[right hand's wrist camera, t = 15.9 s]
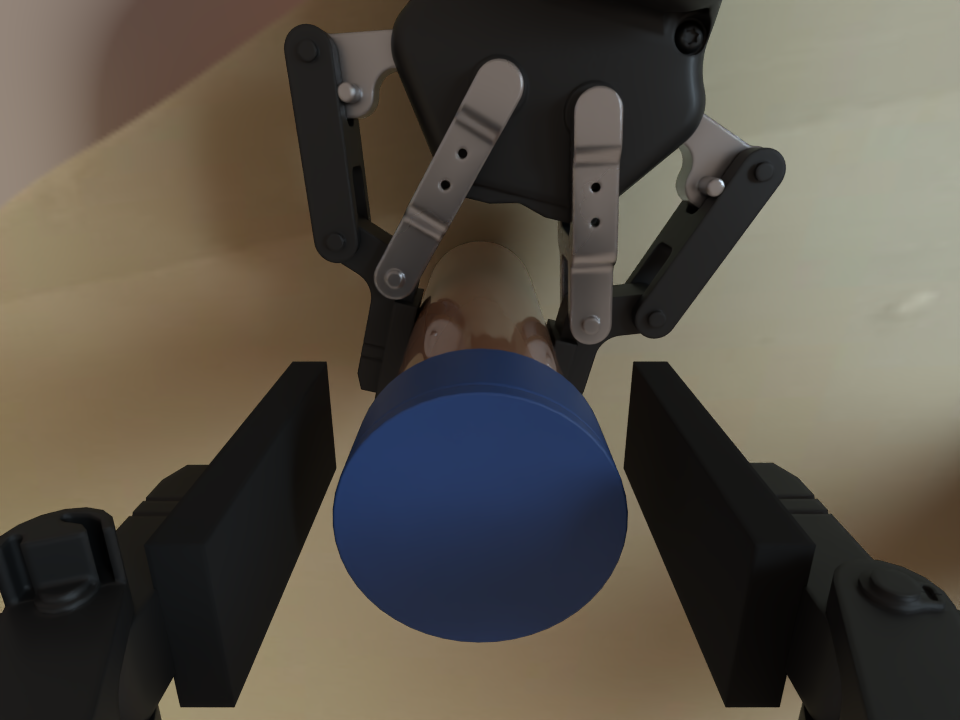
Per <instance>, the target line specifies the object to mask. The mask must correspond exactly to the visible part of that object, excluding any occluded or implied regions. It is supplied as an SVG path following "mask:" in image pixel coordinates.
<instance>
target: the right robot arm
mask: <svg viewBox="0 0 960 720" xmlns="http://www.w3.org/2000/svg"><path fill="white" fill-rule="evenodd" d="M335 470H336V458H335V448H334V437H333V426H332V415H331V404H330V393H329V382H328V371H327V362H292V363H291V365H290V366H289V367H288V368H287V369H286V371H285V372H284V373H283V374H282V376H281V377H280V378H279V379H278V381H277V382H276V383H275V384H274V385H273V387H272V388H271V389H270V390H269V392H268V393H267V394H266V395H265V397H264V398H263V399H262V400H261V401H260V403H259V404H258V405H257V406H256V408H255V409H254V410H253V411H252V413H251V414H250V415H249V416H248V417H247V419H246V420H245V421H244V422H243V424H242V425H241V426H240V427H239V429H238V430H237V431H236V432H235V433H234V435H233V436H232V437H231V438H230V440H229V441H228V442H227V443H226V445H225V446H224V447H223V448H222V449H221V451H220V452H219V453H218V454H217V456H216V457H215V458H214V459H213V461H212V462H211V463H210V464H209V465H186V466H185V467H183V468H181V469H180V470H178V471H176V472H175V473H173V474H171V475H170V476H168V477H166V478H165V479H163V480H162V481H161V482H160V483H159V484H158V485H157V486H156V487H155V488H154V490H153V491H152V492H151V493H150V494H149V495H148V496H147V497H146V501H143V502H142V503H141V504H140V505H139V506H138V507H137V508H136V509H135V510H134V511H133V515H132V516H129V517H128V518H127V519H126V520H125V521H124V522H123V524H122V525H121V526H120V527H119V528H118V529H117V530H116V529H115V525H114V521H113V517H112V516H111V515H109V514H108V513H106V512H105V511H104V510H100V509H94V508H88V507H85V508H72V509H64V510H60V511H56V512H52V513H48V514H44V515H41V516H38V517H36V518H33V519H31V520H29V521H26V522H24V523H21V524H19V525H17V526H16V527H14V528H12V529H11V530H9V531H8V532H6V533H5V534H3V535H1V536H0V592H1V595H2V598H3V601H4V604H5V608H4V610H3V612H2V613H0V720H161V715H160V711H159V707H158V703H159V702H160V700H161V698H162V696H163V695H164V693H165V691H166V689H167V687H168V686H169V684H170V682H171V680H172V678H173V677H174V681H175V685H176V690H177V694H178V699H179V703H180V707H235V705H236V702H237V700H238V698H239V695H240V693H241V691H242V688H243V686H244V684H245V681H246V679H247V677H248V674H249V672H250V670H251V667H252V665H253V663H254V660H255V658H256V655H257V653H258V651H259V648H260V646H261V644H262V641H263V639H264V637H265V634H266V632H267V630H268V627H269V625H270V623H271V620H272V618H273V616H274V613H275V611H276V609H277V606H278V604H279V602H280V599H281V597H282V595H283V592H284V590H285V587H286V585H287V583H288V580H289V578H290V576H291V573H292V571H293V569H294V566H295V564H296V562H297V559H298V557H299V555H300V552H301V550H302V548H303V545H304V543H305V541H306V538H307V536H308V534H309V531H310V529H311V527H312V524H313V522H314V520H315V517H316V515H317V512H318V510H319V508H320V505H321V503H322V501H323V498H324V496H325V494H326V491H327V489H328V487H329V484H330V482H331V480H332V477H333V475H334V473H335ZM624 470H625V473H626V475H627V477H628V480H629V482H630V484H631V487H632V489H633V491H634V494H635V496H636V498H637V501H638V503H639V505H640V508H641V510H642V512H643V515H644V517H645V520H646V522H647V524H648V527H649V529H650V531H651V534H652V536H653V538H654V541H655V543H656V545H657V548H658V550H659V552H660V555H661V557H662V559H663V562H664V564H665V566H666V569H667V571H668V573H669V576H670V578H671V580H672V583H673V585H674V588H675V590H676V592H677V595H678V597H679V599H680V602H681V604H682V606H683V609H684V611H685V613H686V616H687V618H688V620H689V623H690V625H691V627H692V630H693V632H694V634H695V637H696V639H697V641H698V644H699V646H700V648H701V651H702V653H703V655H704V658H705V660H706V663H707V665H708V667H709V670H710V672H711V674H712V677H713V679H714V681H715V684H716V686H717V688H718V691H719V693H720V695H721V698H722V700H723V702H724V705H725V707H780V703H781V699H782V694H783V690H784V685H785V681H786V677H787V675H788V677H789V679H790V681H791V682H792V684H793V686H794V688H795V689H796V691H797V693H798V695H799V697H800V698H801V700H802V702H803V703H802V707H801V711H800V715H799V719H798V720H960V610H957V609H956V607H955V605H954V604H953V603H952V601H951V600H950V599H949V597H948V596H947V595H946V594H945V592H944V591H943V590H941V589H940V588H939V587H937V586H936V585H935V584H933V583H932V582H931V581H929V580H928V579H926V578H925V577H923V576H921V575H919V574H917V573H915V572H913V571H910V570H908V569H906V568H904V567H901V566H898V565H894V564H891V563H888V562H884V561H880V560H873V559H872V558H871V557H870V556H869V554H868V553H867V552H866V551H865V550H864V549H863V548H862V547H861V546H860V545H859V544H858V542H857V541H856V540H855V539H854V538H853V537H852V536H851V535H850V534H849V533H848V532H847V530H846V529H845V528H844V527H843V526H842V525H841V524H840V523H839V522H838V521H837V520H836V519H835V517H834V516H833V515H832V514H828V510H827V509H826V508H825V507H824V505H823V504H822V503H821V502H820V501H819V500H818V499H815V498H814V495H813V493H812V492H811V491H810V490H809V489H808V488H807V487H806V486H805V485H804V484H803V483H802V481H801V480H800V479H799V478H798V477H796V476H794V475H792V474H791V473H789V472H787V471H786V470H784V469H782V468H781V467H779V466H777V465H776V464H774V463H749V462H748V461H747V459H746V458H745V457H744V456H743V454H742V453H741V452H740V451H739V449H738V448H737V447H736V446H735V445H734V443H733V442H732V441H731V440H730V438H729V437H728V436H727V435H726V433H725V432H724V431H723V430H722V429H721V427H720V426H719V425H718V424H717V422H716V421H715V420H714V419H713V417H712V416H711V415H710V414H709V413H708V411H707V410H706V409H705V408H704V406H703V405H702V404H701V403H700V401H699V400H698V399H697V398H696V397H695V395H694V394H693V393H692V392H691V390H690V389H689V388H688V387H687V385H686V384H685V383H684V382H683V381H682V379H681V378H680V377H679V376H678V374H677V373H676V372H675V371H674V369H673V368H672V367H671V366H670V365H669V363H668V362H633V371H632V382H631V393H630V404H629V415H628V426H627V437H626V448H625V458H624Z"/></svg>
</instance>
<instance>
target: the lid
mask: <svg viewBox="0 0 960 720" xmlns="http://www.w3.org/2000/svg"><path fill="white" fill-rule="evenodd" d="M627 521H628V510H627V501H626V495H625V491H624V487H623V484H622V480H621V478H620V475H619V473H618V470H617V468H616V465H615V463H614V460H613V458H612V455H611V453H610V450H609V448H608V446H607V443H606V441H605V438H604V436H603V433H602V431H601V428H600V426H599V423H598V421H597V419H596V417H595V415H594V412H593V410H592V409H591V407H590V406H589V404H588V403H587V401H586V400H585V398H584V397H583V396H582V394H581V393H580V392H579V391H578V390H577V389H576V388H575V386H574V385H572V384H571V383H570V382H569V381H568V380H567V379H566V378H564V377H563V376H562V375H561V374H559V373H558V372H556V371H555V370H553V369H552V368H550V367H549V366H547V365H545V364H543V363H541V362H539V361H537V360H534V359H532V358H529V357H526V356H523V355H520V354H517V353H513V352H508V351H503V350H496V349H482V348H481V349H464V350H458V351H452V352H447V353H444V354H440V355H437V356H434V357H431V358H428V359H426V360H424V361H422V362H420V363H417V364H415V365H414V366H412V367H410V368H409V369H407V370H406V371H404V372H402V373H401V374H400V375H398V376H397V377H396V378H395V379H394V380H392V381H391V382H390V383H389V384H388V385H387V386H386V387H385V388H384V389H383V390H382V391H381V393H380V394H379V395H378V396H377V397H376V399H375V400H374V402H373V403H372V405H371V406H370V408H369V409H368V411H367V414H366V416H365V418H364V420H363V422H362V424H361V427H360V429H359V432H358V434H357V437H356V439H355V441H354V444H353V446H352V449H351V451H350V454H349V456H348V459H347V461H346V464H345V466H344V469H343V471H342V474H341V476H340V479H339V482H338V485H337V489H336V492H335V498H334V504H333V529H334V535H335V542H336V545H337V548H338V551H339V554H340V557H341V560H342V562H343V564H344V566H345V568H346V570H347V572H348V574H349V575H350V576H351V578H352V579H353V581H354V582H355V584H356V585H357V587H358V588H359V589H360V590H361V591H362V592H363V593H364V595H365V596H366V597H367V598H368V599H369V600H370V601H371V602H372V603H374V604H375V605H376V606H377V607H378V608H379V609H380V610H382V611H383V612H385V613H386V614H388V615H389V616H391V617H392V618H394V619H395V620H397V621H399V622H401V623H403V624H405V625H406V626H408V627H410V628H413V629H415V630H418V631H420V632H423V633H425V634H429V635H432V636H436V637H440V638H443V639H449V640H455V641H463V642H498V641H505V640H512V639H517V638H521V637H524V636H528V635H532V634H535V633H537V632H540V631H543V630H545V629H548V628H550V627H552V626H554V625H556V624H558V623H560V622H562V621H564V620H565V619H567V618H568V617H570V616H571V615H573V614H574V613H576V612H577V611H579V610H580V609H581V608H582V607H583V606H585V605H586V604H587V603H588V602H589V601H590V600H591V599H592V598H593V597H594V596H595V595H596V594H597V593H598V592H599V591H600V590H601V589H602V587H603V586H604V584H605V583H606V582H607V580H608V579H609V577H610V576H611V574H612V572H613V570H614V568H615V567H616V565H617V563H618V561H619V558H620V555H621V552H622V549H623V547H624V543H625V538H626V532H627Z"/></svg>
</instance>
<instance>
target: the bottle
mask: <svg viewBox="0 0 960 720" xmlns="http://www.w3.org/2000/svg"><path fill="white" fill-rule="evenodd" d="M481 348H482V349H496V350H503V351H508V352H513V353H517V354H520V355H523V356H526V357H529V358H532V359H534V360H537V361H539V362H541V363H543V364H545V365H547V366H549V367H550V368H552V369H553V370H555V371H556V372H558V373H559V374H561V375H562V376H563V377H564V375H563V373H562V370H561V367H560V364H559V361H558V358H557V355H556V352H555V349H554V346H553V343H552V340H551V337H550V334H549V331H548V328H547V326H546V323H545V320H544V317H543V314H542V311H541V308H540V305H539V302H538V299H537V296H536V293H535V290H534V287H533V284H532V282H531V279H530V276H529V273H528V271H527V269H526V267H525V265H524V264H523V262H522V261H521V260H520V259H519V258H518V257H517V256H516V255H515V254H514V253H513V252H512V251H510V250H509V249H507V248H505V247H503V246H501V245H499V244H496V243H492V242H486V241H475V242H469V243H465V244H462V245H459V246H457V247H455V248H453V249H452V250H450V251H449V252H447V253H446V254H445V255H444V256H443V257H442V258H441V259H440V260H439V262H438V263H437V264H436V266H435V268H434V269H433V272H432V274H431V277H430V280H429V283H428V286H427V288H426V291H425V294H424V297H423V300H422V303H421V306H420V309H419V312H418V315H417V318H416V321H415V324H414V327H413V329H412V332H411V335H410V338H409V341H408V344H407V347H406V350H405V353H404V356H403V359H402V362H401V365H400V368H399V371H398V373H397V376H398V375H400V374H401V373H402V372H404V371H406V370H407V369H409V368H410V367H412V366H414V365H415V364H417V363H420V362H422V361H424V360H426V359H428V358H431V357H434V356H437V355H440V354H444V353H447V352H452V351H458V350H464V349H481ZM397 376H396V377H397Z"/></svg>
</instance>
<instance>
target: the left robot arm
mask: <svg viewBox="0 0 960 720" xmlns="http://www.w3.org/2000/svg"><path fill="white" fill-rule="evenodd" d="M721 2H722V0H410V1H409V2H408V4H407V5H406V6H405V7H404V9H403V10H402V11H401V12H400V14H399V15H398V17H397V19H396V21H395V24H394V26H393V29H391V30H378V31H364V32H350V33H337V34H329V33H326V32H324V31H323V30H321V29H320V28H318V27H316V26H314V25H311V24H302V25H298V26H296V27H294V28H293V29H292V30H291V31H290V32H289V33H288V35H287V37H286V40H285V44H284V52H285V59H286V65H287V72H288V78H289V84H290V91H291V97H292V103H293V110H294V116H295V122H296V129H297V135H298V141H299V148H300V154H301V161H302V167H303V173H304V180H305V186H306V192H307V199H308V205H309V211H310V218H311V224H312V230H313V237H314V243H315V247H316V249H317V251H318V253H319V254H320V255H321V256H322V257H323V258H324V259H326V260H327V261H330V262H333V263H342V264H343V265H345V266H346V267H348V268H350V269H351V270H353V271H354V272H356V273H357V274H359V275H360V276H361V277H362V278H364V280H365V281H366V282H367V284H368V286H369V288H370V291H371V304H370V310H369V315H368V320H367V326H366V331H365V336H364V343H363V347H362V352H361V358H360V363H359V368H358V377H359V382H360V386H361V389H362V390H366V391H371V392H376V396H375V399H376V397H377V396H378V395H379V394H380V393H381V391H382V390H383V389H384V388H385V387H386V386H387V385H388V384H389V383H390V382H391V381H392V380H394V379H395V378H396V376H397V373H398V371H399V368H400V365H401V362H402V359H403V356H404V353H405V350H406V347H407V344H408V341H409V338H410V335H411V332H412V329H413V327H414V324H415V321H416V318H417V315H418V312H419V309H420V305H421V301H422V296H423V291H424V289H421V288H418V285H419V281H420V277H421V275H422V274H423V272H424V270H425V268H426V266H427V265H428V263H429V261H430V259H431V257H432V256H433V254H434V252H435V250H436V248H437V247H438V245H439V243H440V241H441V239H442V238H443V236H444V235H445V233H446V231H447V229H448V228H449V226H450V224H451V222H452V221H453V219H454V217H455V215H456V213H457V212H458V210H459V208H460V206H461V204H462V203H463V201H464V199H465V198H469V199H473V200H477V201H481V202H485V203H520V204H522V205H524V206H526V207H528V208H529V209H531V210H533V211H535V212H537V213H538V214H540V215H542V216H544V217H546V218H550V219H554V220H558V244H559V251H560V308H559V312H558V315H557V318H556V321H555V320H551V319H548V322H547V325H546V326H547V328H548V331H549V334H550V337H551V340H552V343H553V346H554V349H555V352H556V355H557V358H558V361H559V364H560V367H561V370H562V373H563V375H564V378H566V379H567V380H568V381H569V382H570V383H571V384H572V385H574V386H575V388H576V389H577V390H578V391H579V392H580V393H581V394H583V392H584V389H585V386H586V383H587V380H588V377H589V374H590V370H591V367H592V364H593V361H594V358H595V355H596V353H597V350H598V349H599V347H600V346H601V345H602V344H603V343H604V342H605V341H607V340H608V339H610V338H612V337H615V336H621V335H630V334H640V333H641V334H642V335H643V336H645V337H648V338H653V339H655V338H661V337H663V336H665V335H667V334H668V333H670V332H671V330H672V329H673V328H674V327H675V325H676V324H677V323H678V321H679V320H680V319H681V317H682V316H683V315H684V313H685V312H686V310H687V309H688V308H689V306H690V305H691V304H692V302H693V301H694V300H695V298H696V297H697V296H698V294H699V293H700V292H701V290H702V289H703V287H704V286H705V285H706V283H707V282H708V281H709V279H710V278H711V277H712V275H713V274H714V273H715V271H716V270H717V269H718V267H719V266H720V264H721V263H722V262H723V260H724V259H725V258H726V256H727V255H728V254H729V252H730V251H731V250H732V248H733V247H734V246H735V244H736V243H737V242H738V240H739V239H740V237H741V236H742V235H743V233H744V232H745V231H746V229H747V228H748V227H749V225H750V224H751V223H752V221H753V220H754V219H755V217H756V216H757V214H758V213H759V212H760V210H761V209H762V208H763V206H764V205H765V204H766V202H767V201H768V200H769V198H770V197H771V196H772V194H773V193H774V192H775V190H776V189H777V187H778V186H779V185H780V183H781V182H782V180H783V178H784V175H785V171H786V164H785V160H784V158H783V156H782V155H781V154H780V153H779V152H778V151H777V150H774V149H771V148H763V147H759V146H751V145H749V144H747V143H746V142H744V141H743V140H741V139H740V138H739V137H737V136H736V135H734V134H733V133H731V132H730V131H729V130H727V129H726V128H724V127H723V126H721V125H720V124H718V123H717V122H716V121H714V120H713V119H711V118H710V117H708V116H707V115H706V114H704V110H705V102H706V98H705V90H704V84H703V58H704V52H705V48H706V45H707V42H708V39H709V37H710V34H711V31H712V28H713V26H714V23H715V20H716V17H717V14H718V11H719V8H720V5H721ZM396 71H398V74H399V76H400V78H401V81H402V83H403V86H404V88H405V91H406V93H407V95H408V98H409V100H410V103H411V105H412V107H413V110H414V112H415V115H416V117H417V119H418V122H419V124H420V127H421V129H422V131H423V134H424V136H425V139H426V141H427V143H428V146H429V148H430V151H431V153H432V156H433V159H432V161H431V163H430V165H429V167H428V169H427V171H426V173H425V174H424V176H423V178H422V180H421V182H420V184H419V186H418V188H417V190H416V192H415V193H414V195H413V197H412V199H411V201H410V203H409V205H408V207H407V209H406V211H405V214H404V216H403V218H402V220H401V222H400V224H399V226H398V228H397V229H396V231H395V233H394V235H393V236H392V235H390V234H389V233H387V232H386V231H384V230H383V229H381V228H380V227H378V226H377V225H375V224H373V223H372V222H371V217H370V209H369V201H368V193H367V185H366V177H365V169H364V161H363V153H362V145H361V137H360V129H359V120H358V119H361V118H365V117H368V116H370V115H371V114H372V113H373V112H374V111H375V110H376V108H377V105H378V102H379V90H380V86H381V84H382V82H383V80H384V79H385V78H386V77H387V76H388V75H389V74H391V73H393V72H396ZM677 148H679V149H680V151H681V153H682V158H683V163H682V168H681V171H680V173H679V175H678V177H677V180H676V191H677V194H678V196H679V197H680V198H681V199H682V202H681V203H680V205H679V206H678V208H677V209H676V210H675V212H674V213H673V215H672V216H671V218H670V219H669V221H668V222H667V223H666V225H665V226H664V228H663V229H662V231H661V232H660V234H659V235H658V236H657V238H656V239H655V241H654V242H653V244H652V245H651V247H650V248H649V249H648V251H647V252H646V254H645V255H644V257H643V258H642V260H641V261H640V262H639V264H638V265H637V267H636V268H635V270H634V271H633V273H632V274H631V275H630V277H629V278H628V280H627V281H626V283H625V284H621V285H613V268H614V265H615V263H616V259H617V244H618V206H619V196H620V195H622V194H623V193H624V192H625V191H626V190H628V189H629V188H630V187H631V186H633V185H634V184H635V183H636V182H637V181H639V180H640V179H641V178H642V177H643V176H645V175H646V174H647V173H648V172H650V171H651V170H652V169H653V168H654V167H656V166H657V165H658V164H659V163H660V162H662V161H663V160H664V159H665V158H666V157H668V156H669V155H670V154H671V153H673V152H674V151H675V150H676V149H677Z"/></svg>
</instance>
